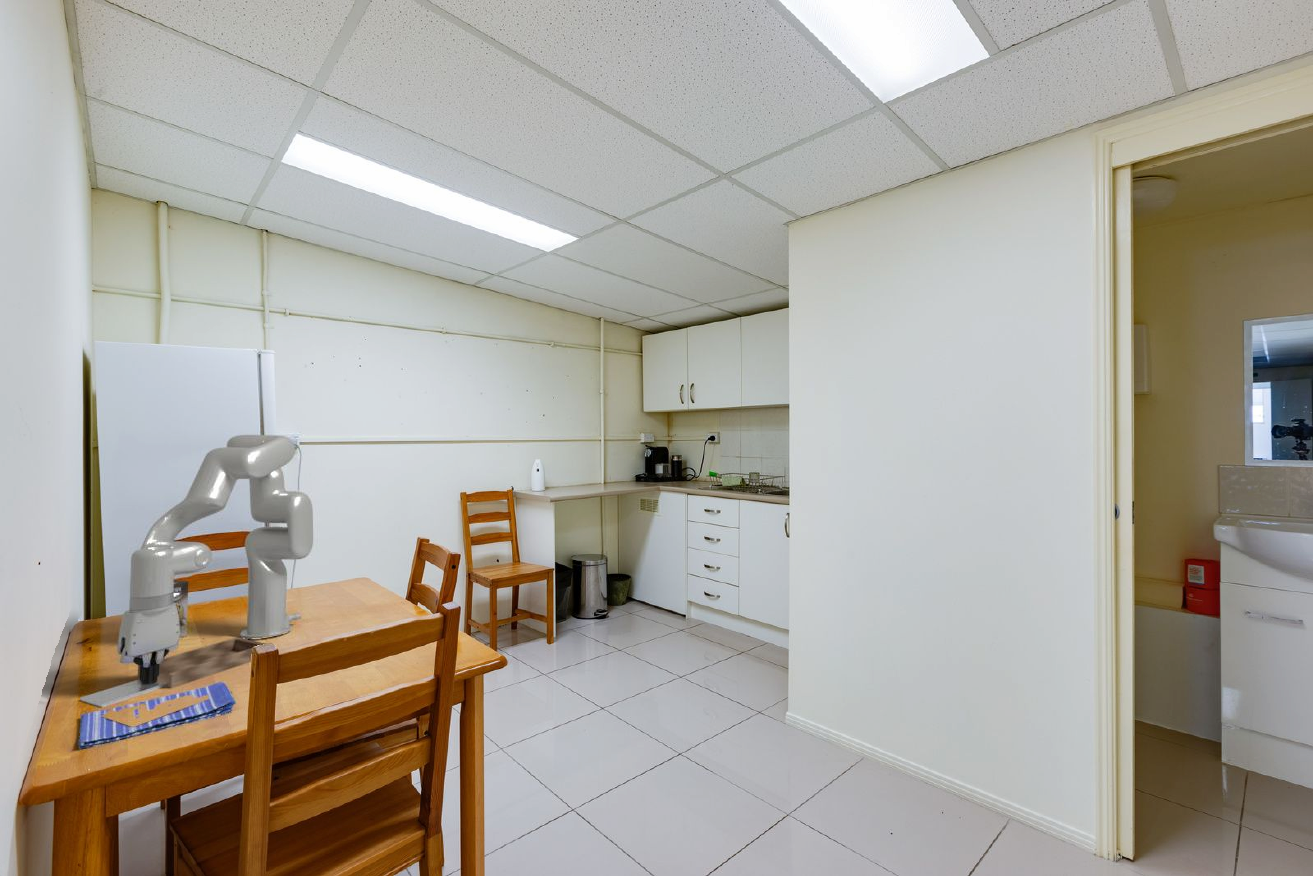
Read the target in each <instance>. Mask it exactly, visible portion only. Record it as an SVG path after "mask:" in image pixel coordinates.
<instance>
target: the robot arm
mask: <svg viewBox="0 0 1313 876" xmlns="http://www.w3.org/2000/svg"><path fill="white" fill-rule="evenodd" d="M295 452H296V446H295V444H294V442H293V440H292V439H291V438H289V437H287V436H285V435H278V434H277V435H272V434H270V435H269V434H268V435H267V434H239V435H235V436H232V437H231V438H229V440H227V443H226V447H217V448H214V449H211V450H210V451H209V452H207V453H206V455H205V457H204V458H203V461H202V462H201V465H200V467H199V469H198V471H197V473H196V475H195V477H194V479H193V481H192V484H191V486H190V488H189V490H188V492H187V495H186V496H185V498H184V499H183V500H181V502H179V503H178V504H176V505H174V506H173V507H171V508H170V509H169V510H168V511H167V512H165V513H164V514H163V515H161V517H159V519H157V520H156V521H155V522H154V523H153V524H152V526H151V527H150V529H149V530H148V532H147V534H146V537H145V538H144V540H143V543H142V545H141V547H140V549H137V550H134V551H133V553H132V554H131V557H130V578H129V579H130V580H129V581H130V583H129V604H128V605H129V610H125V611H124V612H123V615H122V619H121V623H120V627H119V632H118V639H117V653H118V654H119V655H120V658H119V663H120V664H135V665H137V667H138V666H140V677H139V678H140V681H141V682H142V683H145V684H151V683H152V682H157V679H158V676H159V664H160V663H161V662H162V661H163V659H164V658H166V657H167V655H168V654H170V653H171V652H173V651H175V650H177V649H179V642H180V639H181V638H180V625H179V616H178V611H177V607H176V604H174V603H173V602H174V599H175V598H177V597H179V592H174V591H173V587H174V581H175V580H174V579H175V576H176V575H178V576H179V575H185V574H186V575H187V574H189V575H190V574H194V573H197V572H200V571H202V570H204V569H205V568H206V567H207V566H208V565H209V564H210V562H211V560H212V559H213V558H212V557H213V554H212V550H211V548H210V547H209V546H208V545H206V544H205V543H202V542H197V541H180V540H179V541H175V540H176V538H177V537H178V535H179V534H180V533H181V532H182V531H183V530H184V529H185V528H187V527H188V526H190V525H192V524H193V523H196V522H197V521H200V520H202V519H205V518H207V517H210V516H213V515H215V514H217V513H219V512H221V511H223V510H224V509H225V508H226V506H227V504H228V502H229V499H230V497H231V494H232V492H233V490H234V487H235V486H236V485H235V484H236V483H237V481H238V480H248V481H249V502H250V504H249V505H250V515H251V518H252V519H253V521H255V522H258V523H265V524H286V526H262V527H257V528H255V529H253V530H251V531H250V532H249V533H248V535H247V536H246V538H245V541H244V549H245V554H246V558H247V565H248V566H247V567H248V583H247V584H248V585H247V588H248V589H247V612H246V613H247V617H246V619H247V620H246V621H247V622H246V623H247V625H246V626H247V627H246V628H245V629H243V630H241V632H240V635H239V636H241V637H242V639H243V638H245V639H247V640H248V639H252V638H263V637H269V636H276V635H279V634H283V633H285V632H288V631H290V629H291V628H292V627H293V626H292V625H291V624H290V623H291V622H292V621H296V620H299V619H300V620H301V618H302V613H300V612H295V613H293V614H292V613H287V592H288V591H287V590H288V589H287V584H288V582H287V581H288V571H287V567H286V565H285V564H284V563H285V562H284V561H283V560H288V561H289V560H291V561H292V560H294V561H296V560H302V559H306V558H307V557H308V555H310V553H311V552H312V549H313V545H314V515H313V514H314V513H313V512H314V511H313V504H312V500H311V499H310V497H309V496H308V495H307V494H306V493H304V492H302V491H296V490H295V491H289V490H288V491H287V490H286V488H285V477H284V476H285V475H284V472H283V470H282V467H284V466H286V465H288V463H290V462H291V461H292V459H293V458H294V456H295ZM291 630H292V629H291ZM290 632H291V631H290ZM288 633H289V632H288ZM283 635H284V634H283ZM241 637H240V638H241ZM179 638H180V639H179Z"/></svg>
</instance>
